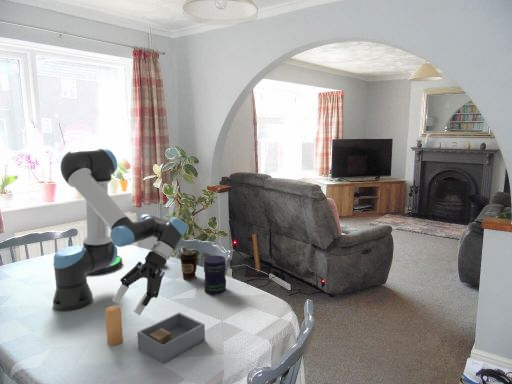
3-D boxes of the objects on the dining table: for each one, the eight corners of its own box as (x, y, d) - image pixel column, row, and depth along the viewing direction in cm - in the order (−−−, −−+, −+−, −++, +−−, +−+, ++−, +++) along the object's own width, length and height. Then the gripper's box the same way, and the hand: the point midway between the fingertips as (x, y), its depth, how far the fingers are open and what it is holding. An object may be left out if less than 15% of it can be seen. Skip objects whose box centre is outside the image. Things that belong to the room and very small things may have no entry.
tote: (163, 364, 117) (162, 346, 116) (138, 348, 125) (137, 331, 125) (204, 340, 130) (204, 324, 129) (180, 327, 139) (179, 312, 138)
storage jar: (208, 296, 164) (207, 264, 161) (201, 288, 172) (200, 257, 170) (229, 292, 168) (229, 260, 166) (221, 284, 177) (220, 254, 174)
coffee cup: (194, 281, 180) (193, 256, 178) (178, 280, 182) (177, 254, 179) (200, 275, 188) (199, 250, 186) (185, 273, 190) (184, 249, 188)
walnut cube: (159, 353, 121) (158, 339, 120) (150, 348, 124) (149, 334, 123) (172, 347, 124) (171, 333, 124) (162, 341, 128) (162, 328, 127)
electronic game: (108, 257, 216) (107, 249, 215) (130, 266, 202) (130, 257, 201) (68, 268, 198) (67, 260, 198) (89, 279, 184) (88, 270, 183)
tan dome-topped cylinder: (106, 346, 127) (104, 313, 125) (108, 338, 131) (105, 306, 129) (122, 344, 128) (120, 311, 126) (123, 336, 133) (121, 305, 131)
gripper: (133, 244, 145) (99, 293, 137) (174, 257, 130) (139, 314, 121) (145, 253, 150) (113, 302, 141) (186, 267, 135) (153, 323, 126)
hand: (125, 307), depth 131 cm, fingers open, 13 cm apart
